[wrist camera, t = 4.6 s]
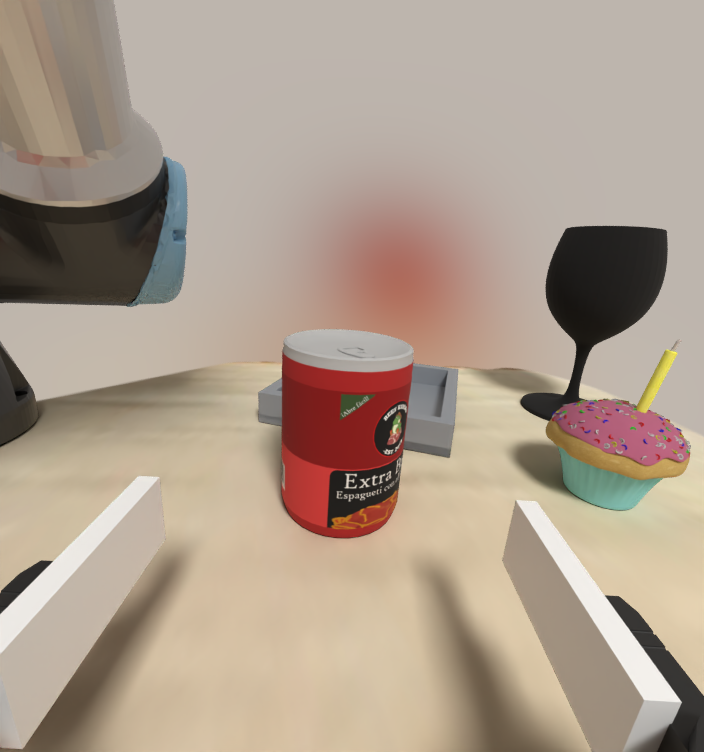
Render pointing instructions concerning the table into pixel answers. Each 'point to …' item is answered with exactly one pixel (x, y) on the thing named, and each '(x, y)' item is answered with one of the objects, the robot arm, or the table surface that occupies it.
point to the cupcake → (618, 446)
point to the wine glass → (599, 292)
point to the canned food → (343, 428)
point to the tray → (425, 411)
